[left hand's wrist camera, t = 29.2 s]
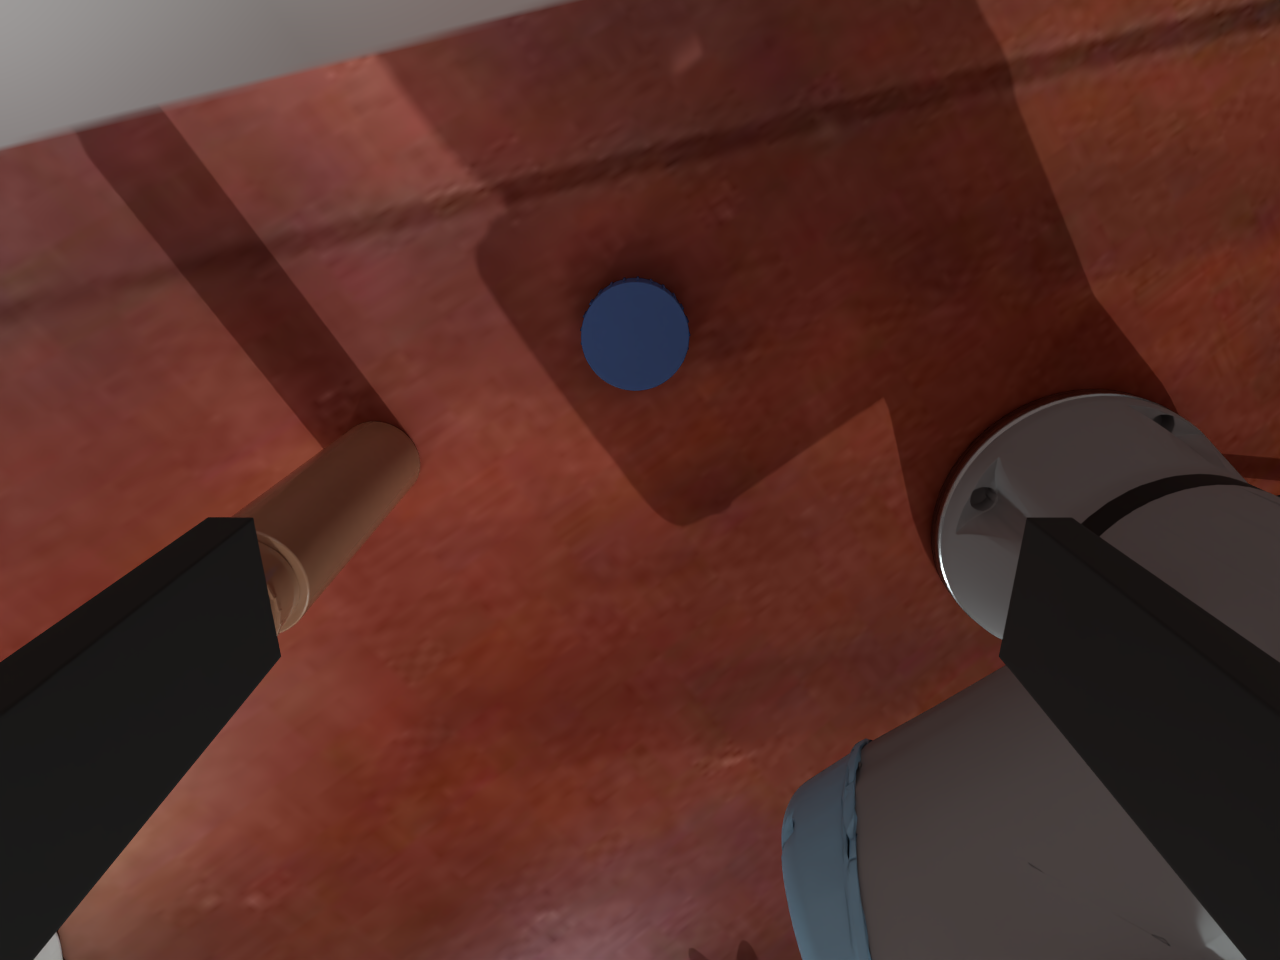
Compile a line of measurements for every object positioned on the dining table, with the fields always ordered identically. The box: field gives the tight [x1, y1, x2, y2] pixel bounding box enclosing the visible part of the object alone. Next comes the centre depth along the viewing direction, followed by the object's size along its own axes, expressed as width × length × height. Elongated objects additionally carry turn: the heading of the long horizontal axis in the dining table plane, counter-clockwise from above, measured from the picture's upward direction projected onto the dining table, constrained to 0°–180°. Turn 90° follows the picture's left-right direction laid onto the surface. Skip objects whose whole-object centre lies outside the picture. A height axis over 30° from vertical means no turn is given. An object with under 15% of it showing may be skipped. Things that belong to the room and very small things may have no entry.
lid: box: [580, 276, 690, 391], centre depth 37 cm, size 6×6×2 cm
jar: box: [232, 421, 420, 636], centre depth 33 cm, size 5×5×17 cm
